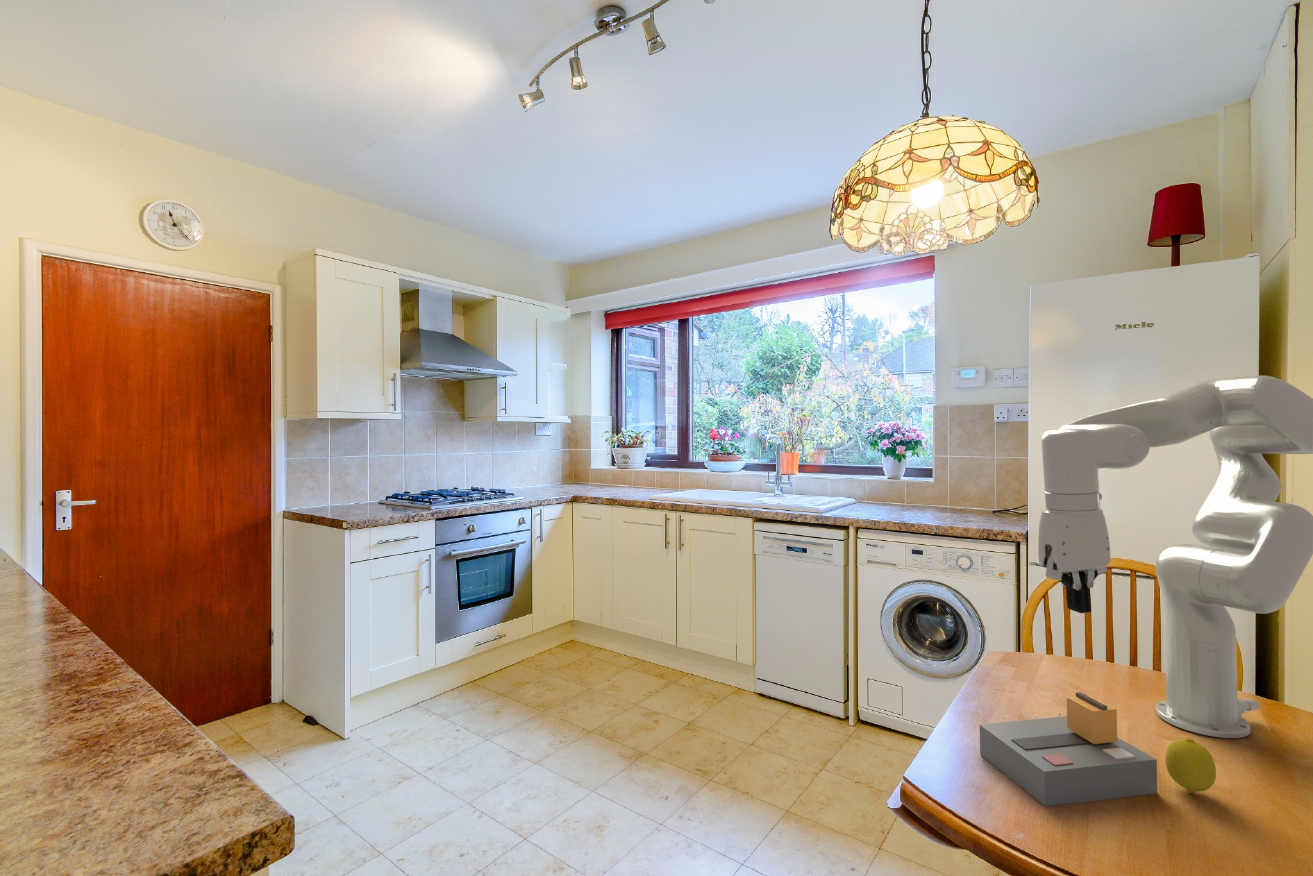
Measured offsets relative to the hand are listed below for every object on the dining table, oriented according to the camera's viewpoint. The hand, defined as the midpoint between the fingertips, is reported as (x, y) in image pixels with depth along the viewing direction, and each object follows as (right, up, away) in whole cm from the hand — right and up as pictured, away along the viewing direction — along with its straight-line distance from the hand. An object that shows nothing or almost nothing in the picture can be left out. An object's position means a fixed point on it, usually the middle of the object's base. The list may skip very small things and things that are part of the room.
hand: (1079, 610), depth 101 cm
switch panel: (-8, -23, -8) cm, 26 cm away
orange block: (-3, -17, -7) cm, 19 cm away
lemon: (+7, -23, -13) cm, 27 cm away
